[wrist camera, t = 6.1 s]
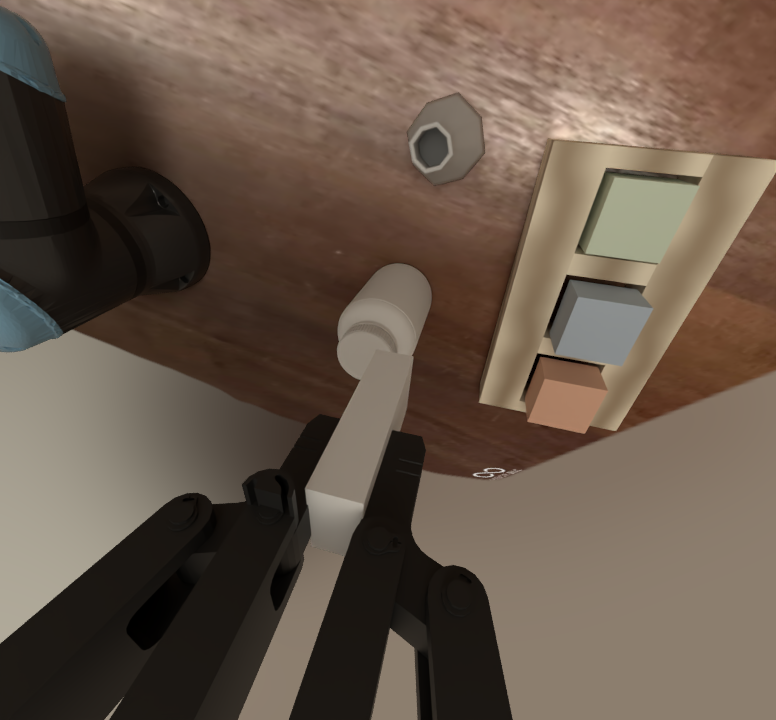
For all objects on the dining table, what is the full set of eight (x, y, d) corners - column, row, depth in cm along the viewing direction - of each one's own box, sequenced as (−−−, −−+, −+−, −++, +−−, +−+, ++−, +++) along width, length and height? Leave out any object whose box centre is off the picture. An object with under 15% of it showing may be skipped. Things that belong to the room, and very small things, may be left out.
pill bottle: (417, 250, 40) (384, 306, 28) (442, 311, 43) (423, 385, 31) (357, 274, 43) (305, 333, 31) (385, 329, 47) (348, 402, 35)
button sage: (576, 240, 35) (585, 253, 31) (601, 171, 31) (614, 177, 28) (642, 249, 34) (659, 263, 30) (676, 178, 30) (699, 186, 27)
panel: (480, 383, 48) (479, 402, 44) (547, 138, 32) (554, 140, 28) (607, 408, 45) (615, 431, 42) (750, 156, 29) (782, 161, 26)
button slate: (549, 333, 38) (554, 354, 34) (569, 279, 34) (578, 296, 31) (609, 343, 37) (621, 366, 33) (637, 289, 33) (653, 308, 30)
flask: (498, 156, 33) (499, 167, 25) (431, 198, 37) (413, 220, 29) (463, 74, 31) (452, 57, 23) (394, 128, 34) (364, 130, 26)
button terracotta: (524, 397, 43) (527, 421, 39) (540, 356, 39) (544, 378, 36) (577, 408, 42) (584, 433, 38) (598, 367, 38) (608, 391, 35)
